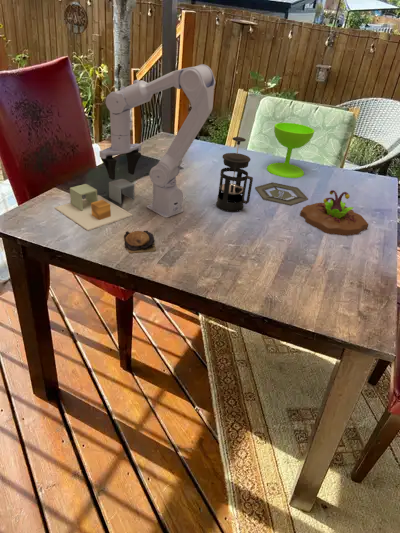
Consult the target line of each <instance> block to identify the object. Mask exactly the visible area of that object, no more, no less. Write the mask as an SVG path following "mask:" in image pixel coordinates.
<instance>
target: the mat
mask: <svg viewBox="0 0 400 533" xmlns="http://www.w3.org/2000/svg"><path fill="white" fill-rule="evenodd" d="M97 198H98V201H100V200H104V201H105V202H107V203H109V204H110V210H111V216H110V217H107V218H104V219H101V220H99V219H97V218H96V217H94V216H92V210H91V203H90V202H88V201H87V200H86V198H84V199H83V198H82V203H83V211H81V210H79V209H78V208H76V207H75V206H73V205H72V204H71V202H69V203H65V204H62V205H58V206H55V207H54V210H56V211H58V212H59V213H61V214H62V215H64V216H65V217H67V218H68V219H69V220H71V221H72V222H74V223H75V224H76V225H78V226H80V227H81V228H83V229H84V230H86V231H87V232H89V231H92V230H96V229H98V228H100V227H104V226H107V225H110V224H112V223H115V222H118V221H121V220H125V219H128V218H130V217H133V214H132V213H131V212H129V211H127V210H125V209H123V208H122V207H120V206H119V205H117V204H115V203H113V202H112V201H110V200H108V199H107V198H104V197H103V196H101V195H99V194H97Z"/></svg>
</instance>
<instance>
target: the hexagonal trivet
mask: <svg viewBox="0 0 400 533" xmlns="http://www.w3.org/2000/svg"><path fill="white" fill-rule="evenodd" d="M254 189H255V191H256V192H257V194H258V195H259V196H260V197H261V199H262V200H263V201H268V202H273V203H277V204H280V205H286V206H290V207H291V206H295V205H297V204H299V203H304V202H306V201H308V200H309V197H308V196H307V195H306V194H305V193H304V192H303V191H302V190H301V189H300V188H299V187H297V186H296V187H295V186H293V185H286V184H282V183H278V182H277V183H276V182H272V181H271V182H269V183H265V184H262V185H261V184H260V185H258V186H255V188H254ZM269 189H272V190H270V191H269V193H270V195H269V193H268V192H267V190H269ZM273 189H274V190H273ZM290 191H291V192H293V194H294V196H293V195H292V194H291V193H290Z"/></svg>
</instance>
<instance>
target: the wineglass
mask: <svg viewBox="0 0 400 533" xmlns="http://www.w3.org/2000/svg"><path fill="white" fill-rule="evenodd" d="M273 128H274V129H273V130H274V136H275V138H276V140H277V142H278V143H279V144H280V145H281V146H283V147H285V148H287V150H286V155H285V160H284V162H274V163H270V164H268V165H267V166H266V171H267V172H269V173H270V174H272V175H274V176H276V177H281V178H286V179H299V178H301V177H303V176H304V175H305V172H304V170H303V169H302V168H301V167H300V166H298V165H295V164H291V163H290V161H291V157H292V152H293V149H295V150H296V149H299V148H303V147H304V146H305V145H307V143H309V142H310V141H311V140H312V138H313V136H314V134H315V129H314V128H312V127H310V126H307V125H305V124H299V123H293V122H278V123H276V124H274V127H273Z"/></svg>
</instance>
